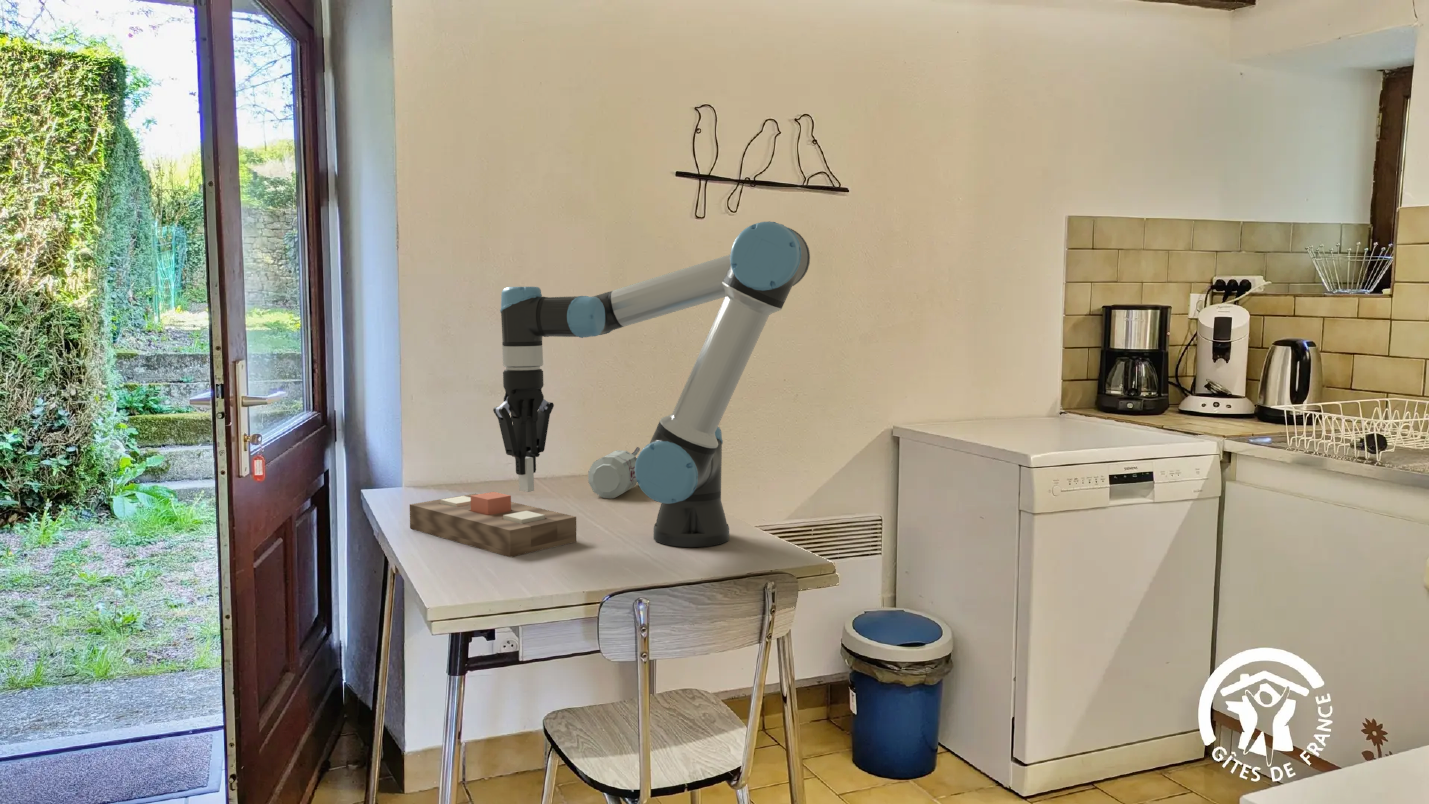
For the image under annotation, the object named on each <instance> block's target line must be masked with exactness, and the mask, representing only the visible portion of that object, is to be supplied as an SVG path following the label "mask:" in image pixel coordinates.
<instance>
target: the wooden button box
mask: <svg viewBox="0 0 1429 804" xmlns="http://www.w3.org/2000/svg"><path fill="white" fill-rule="evenodd" d="M478 494H479V493H469V494H464V495H462V496H466V497H470V498H471V496H472V495H478ZM460 496H461V495H458V496H456V497H460ZM454 497H455V496H452V497H451V496H450V498H454ZM448 498H449V497H446V498H444V499H448ZM442 499H443V498H440V499H433V500H427V501H422V502H416V503H412V504H409V529H410V530H415V531H418V532H421V533H425V534H428V535H431V536H435V537H439V538H443V539H445V540H448V541H453V542H455V543H460V544H463V545H466V546H470V547H473V548H477V549H481V550H485V551H487V552H491V553H494V554H498V555H501V556H505V557H508V558H513V557H517V556H521V555H525V554H529V553H535V552H538V551H542V550H547V549H551V548H552V549H553V548H555V547H559V546H563V545H569V544H573V543H577V516H574V515H571V514H567V513H566V514H565V513H562V512H556V511H552V510H548V509H545V508H540V507H535V506H531V505H528V504H527V505H526V504H522V503H518V502H514V501H511V511H508V512H503V513H497V514H492V515H484V514H480V513H476V512H472V511H471V505H467V506H462V507H452V506H448V505H444V504H441V502H440V500H442ZM522 511H530V512H534V513H539V514H543V515H545V519H542V520H538V521H533V522H528V523H523V524H520V523H516V522H512V521H508V520H504V519H503V515H507V514H512V513H517V512H522Z"/></svg>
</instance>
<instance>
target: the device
mask: <svg viewBox="0 0 1429 804" xmlns="http://www.w3.org/2000/svg"><path fill="white" fill-rule="evenodd" d="M640 451H641V448H640V447H639V446H636V447H635V449H634V451H632V453H631V452H629V451H628V450H618V449H617V450H614V451H612V452H610V453H608V454H606V455H604V456H602V457H601V458H598V459H597V460H595V461H593V462H592V464H591V466H590V468H589V470H588V476H587V477H588V478H587V479H588V480H587V481H588V484H589V486H590V488H591V489H592V492H593V493H595V494H596V495H598V496H599V497H601V498H603V499H615V498H617V497H619V496H620V495H622V494H623V495H624V493H626V492H627V491H629V490H631V489H632V488H633V487H635V486H636V485H637V484H638V482H637V480H636V477H635V463H636V460H637V455H639V453H640Z"/></svg>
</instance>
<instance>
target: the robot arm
mask: <svg viewBox="0 0 1429 804" xmlns="http://www.w3.org/2000/svg"><path fill="white" fill-rule="evenodd" d="M810 261H811V253H810V248H809V246H808V244H807V242H806V240H805V239H804V237H803V236H802V235H801V234H800V233H798V231H796V230H794V229H792V228H790V227H787V226H785V225H784V224H782V223H779V222H778V223H777V222H776V221H771V220H770V221H761V222H757V223H753V224H751V225H749V226H747V227H746V228H744V229H743V230H742V231H740V232H739V234H738V235H737V236H736V238H735V239H734V241H733V243H732V246H731V249H730V254H728V255H723V256H721V257H718V258H713V259H710V260H707V261H704V262H701V263H697V264H695V265H691V266H689V267H685V268H682V269H678V270H675V271H673V272H669V273H666V274H662V275H659V276H655V277H652V278H650V279H646V280H643V281H640V282H639V281H638V282H637V283H633V284H630V285H627V286H623V287H619V288H617V289H614V290H611V291H607V292H604V293H603V292H602V293H599V294H596V295H593V296H587V295H578V296H555V297H554V296H552V297H551V296H550V297H549V296H543V295H542V290H541V288H540V287H539V286H507V287H504V288H503V289H502V291H501V294H500V295H501V297H500V299H501V301H500V309H499V311H500V312H499V313H500V317H501V318H500V320H501V336H502V338H501V339H502V340H501V341H502V342H501V343H502V344H501V345H502V346H501V349H502V366H503V368H506V369H504V370H503V371H502V383H503V384H502V385H503V389H504V391H505V394H504V397H503V402H502V403H501V404H500V405H499V406H494V407H493V410H492V412H493V413H494V414H495V416H496V418H497V420H498V424H499V429H500V434H501V438H502V442H503V445H504V450H505V454H506V455H507V456H512V457H513V458H514V459H515V460H514V461H515V473H516V475H518V491H519V492H525V493H530V492H531V493H532V492H535V482H534V481H535V480H534V479H535V476H534V474H535V473H536V471H537V461H536V459H537V458H539V457H540V455H541V454H540V453H544V451H545V449H546V443H547V442H546V441H547V436H548V430H549V423H550V416H551V413H552V411H553V409H554V406H555V404H554V402H550V401H547V400H546V399H545V396H544V394H543V391H542V389H543V387H544V370H543V369H542V368H541V367H543V365H544V354H543V353H544V352H543V337H545V338H549V337H555V338H556V337H557V338H558V337H559V338H581V339H583V338H591V337H598V336H603V335H607V334H609V333H611V332H613V331H615V330H619V329H621V328H625V327H627V326H630V325H635V324H638V323H641V322H644V321H649V320H651V319H654V318H658V317H661V316H666V315H669V314H672V313H676V312H678V311H682V310H686V309H689V308H693V307H695V306H699V305H702V304H706V303H709V302H712V301H713V302H714V301H717V300H720V299H723V300H722V302H721V305H720V308H719V309H718V311H717V313H716V315H715V318H714V320H713V323H712V325H711V327H710V330H709V332H708V334H707V335H706V338H705V340H704V343H703V345H702V347H701V349H700V351H699V354H698V356H697V357H696V360H695V362H694V364H693V367H692V369H691V371H690V374H689V376H688V378H687V381H686V382H685V384H684V386H683V389H682V390H681V393H680V396H679V398H678V400H677V402H676V404H675V407H674V409H673V411H672V413H671V414H668V415H666V416H663V417H661V418H660V420H659V422H658V424H657V426H656V428H655V431H654V433H653V435H652V437H651V439H650V442H649V443H648V444H646V445H645V446H644V447H643V448H642V449H641V450H640V451H639V453H638V454H637V455H638V456H636V458H637V460H636V463H635V477H636V480H637V485H638V486H639V487H638V488H640V490H641V491H642V492H643V493H644V494H645V496H647V497H648V498H649V499H651V500H653V501H655V502H657V503H660V507H659V510H658V513H657V517H656V522H655V523H654V525H653V540H654V541H655V542H657V543H659V544H663V545H666V546H672V547H683V548H701V547H703V548H704V547H713V546H718V545H721V544H725V543H727V542H728V541H730V527H729V524H728V522H727V519H726V514H725V510H724V506H723V504H722V464H723V463H722V457H723V456H722V454H723V453H722V451H723V450H722V449H723V447H722V446H723V444H724V443H723V442H724V440H723V438H722V434H723V433H722V430H721V428H720V427H719V425H720V423H721V420H722V419H723V416H724V414H725V411H726V409H727V408H728V405H729V404H730V402H731V399H732V397H733V395H734V393H735V390H736V388H737V386H738V384H739V381H740V379H741V377H742V375H743V372H744V371H745V369H746V367H747V364H748V362H749V360H750V357H751V356H752V354H753V352H754V349H755V348H756V345H757V343H758V341H759V338H760V336H761V334H762V332H763V330H764V328H765V326H766V324H767V321H768V318H769V317H770V316H771V315H772V314H775V313H777V312H779V311H782V309H783V307H784V305H785V303H786V300H787V299H788V297H789V294H790V293H791V290H792V288H793V287H794V286H796V285H797V284H799V283H800V282H801V281H802V280H803V279H804V277H805V276H806V273H807V272H808V270H809V266H810V264H811V263H810Z"/></svg>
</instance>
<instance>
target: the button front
mask: <svg viewBox="0 0 1429 804" xmlns="http://www.w3.org/2000/svg"><path fill="white" fill-rule="evenodd" d="M503 519H504V520H508V521H512V522H516V523H520V524H523V523H528V522H533V521H538V520H542V519H545V515H543V514H539V513H534V512H530V511H522V512H517V513H512V514H507V515H503Z"/></svg>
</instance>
